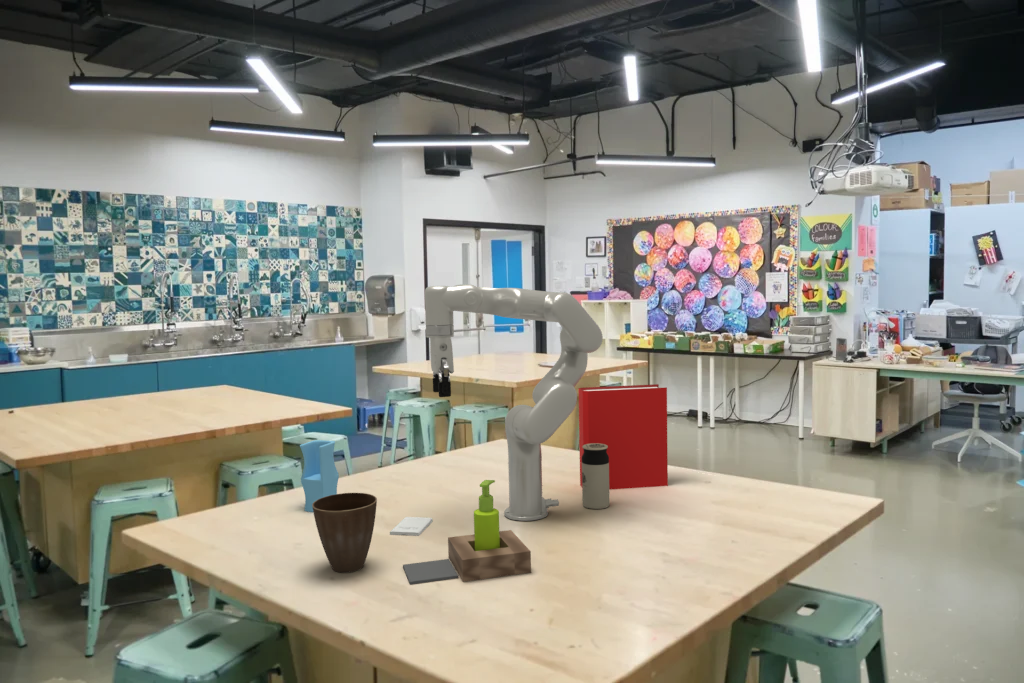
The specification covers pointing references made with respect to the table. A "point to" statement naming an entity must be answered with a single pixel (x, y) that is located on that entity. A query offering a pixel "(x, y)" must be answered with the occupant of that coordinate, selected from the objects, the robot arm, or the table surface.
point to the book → (627, 432)
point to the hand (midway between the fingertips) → (441, 394)
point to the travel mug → (595, 476)
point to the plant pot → (345, 528)
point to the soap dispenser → (486, 521)
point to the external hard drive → (411, 526)
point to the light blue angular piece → (318, 471)
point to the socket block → (489, 557)
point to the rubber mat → (429, 571)
